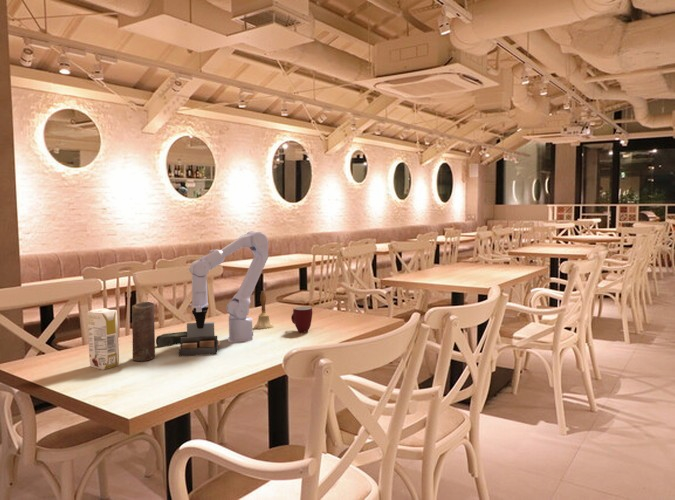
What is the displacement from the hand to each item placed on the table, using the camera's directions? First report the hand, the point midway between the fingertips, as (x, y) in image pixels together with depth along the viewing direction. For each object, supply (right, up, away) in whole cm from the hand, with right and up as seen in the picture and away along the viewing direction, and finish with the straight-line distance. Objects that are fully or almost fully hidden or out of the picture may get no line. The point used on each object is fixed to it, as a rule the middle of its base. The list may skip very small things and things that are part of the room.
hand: (200, 327), depth 204 cm
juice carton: (-26, -10, -25) cm, 37 cm away
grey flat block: (0, -6, 0) cm, 6 cm away
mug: (+37, -5, +22) cm, 43 cm away
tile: (0, -7, +1) cm, 7 cm away
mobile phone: (-11, -8, +1) cm, 13 cm away
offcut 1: (-1, -8, -13) cm, 15 cm away
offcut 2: (+5, -7, -12) cm, 15 cm away
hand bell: (+20, -5, +32) cm, 38 cm away
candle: (-15, -9, -19) cm, 26 cm away
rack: (+2, -8, -10) cm, 13 cm away
